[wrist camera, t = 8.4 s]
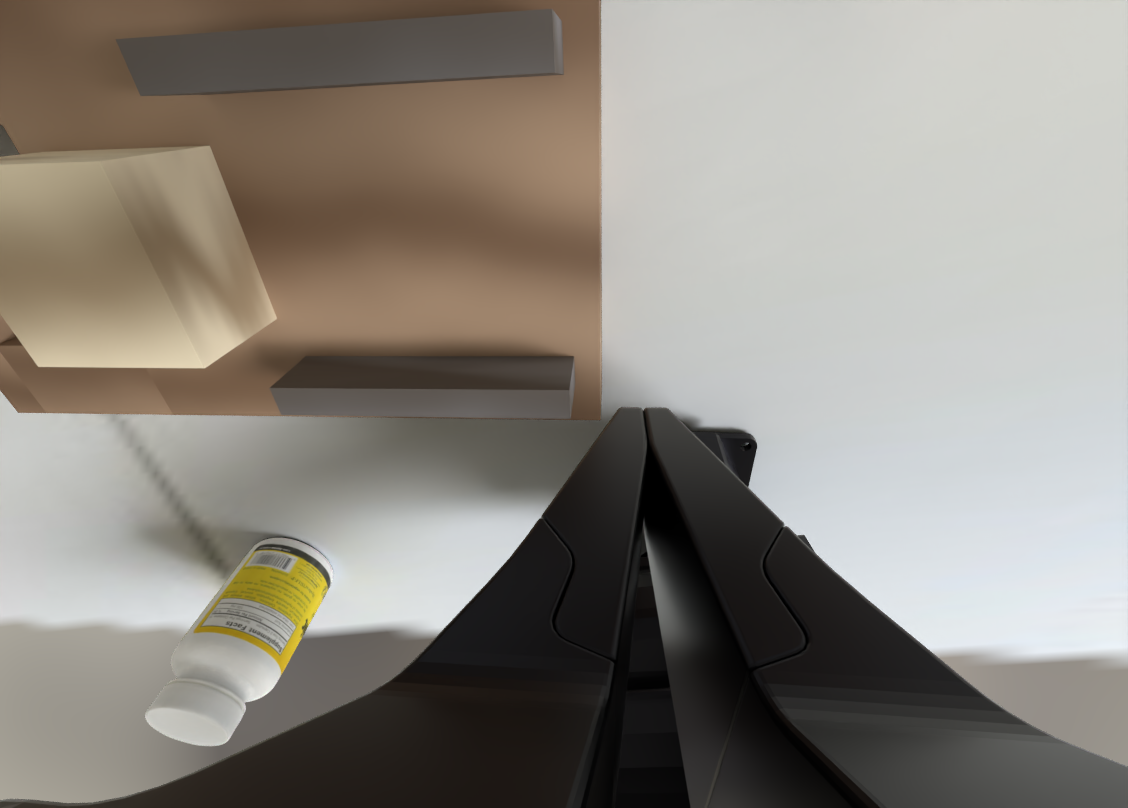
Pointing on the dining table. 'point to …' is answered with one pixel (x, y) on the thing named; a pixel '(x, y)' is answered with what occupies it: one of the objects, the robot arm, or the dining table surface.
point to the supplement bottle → (241, 641)
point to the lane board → (348, 194)
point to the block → (125, 259)
